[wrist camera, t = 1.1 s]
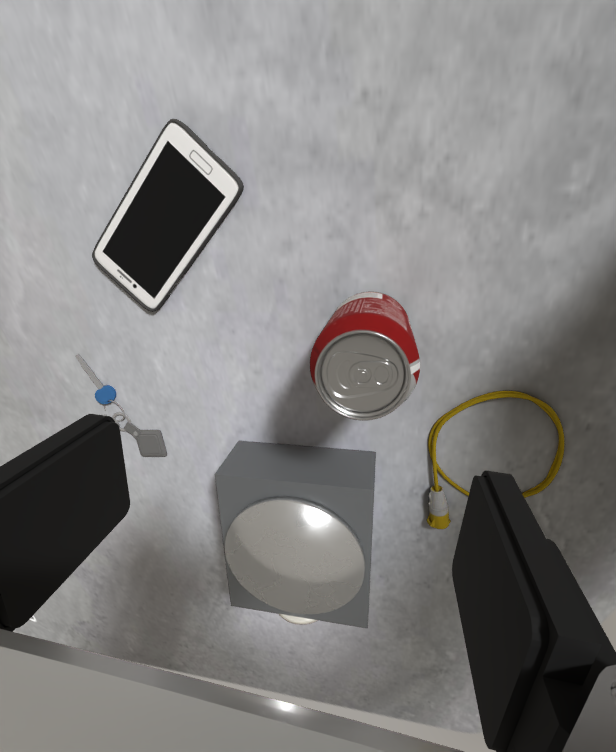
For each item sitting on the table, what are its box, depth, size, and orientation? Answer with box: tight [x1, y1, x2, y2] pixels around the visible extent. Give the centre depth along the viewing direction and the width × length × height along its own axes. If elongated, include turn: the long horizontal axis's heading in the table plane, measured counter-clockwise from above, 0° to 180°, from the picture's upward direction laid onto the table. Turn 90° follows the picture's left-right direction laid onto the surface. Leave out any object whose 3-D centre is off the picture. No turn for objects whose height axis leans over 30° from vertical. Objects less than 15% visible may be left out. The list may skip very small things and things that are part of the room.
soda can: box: [310, 292, 420, 420], centre depth 27 cm, size 7×7×12 cm
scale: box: [215, 441, 376, 628], centre depth 38 cm, size 14×17×6 cm
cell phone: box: [92, 119, 244, 312], centre depth 33 cm, size 8×15×1 cm, turn 138°
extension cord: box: [427, 391, 564, 529], centre depth 35 cm, size 12×16×2 cm
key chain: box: [76, 354, 167, 457], centre depth 42 cm, size 14×8×1 cm, turn 44°
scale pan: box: [225, 496, 365, 614], centre depth 35 cm, size 13×13×1 cm
